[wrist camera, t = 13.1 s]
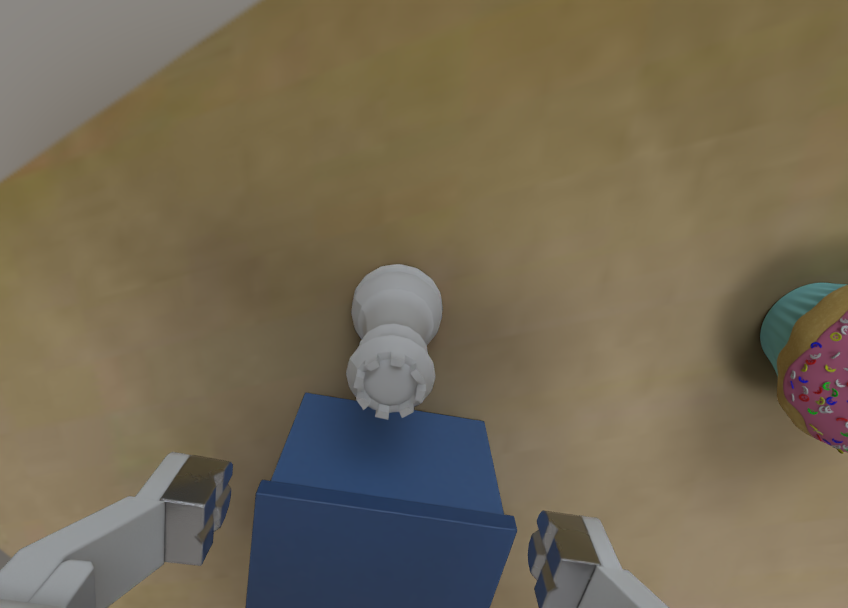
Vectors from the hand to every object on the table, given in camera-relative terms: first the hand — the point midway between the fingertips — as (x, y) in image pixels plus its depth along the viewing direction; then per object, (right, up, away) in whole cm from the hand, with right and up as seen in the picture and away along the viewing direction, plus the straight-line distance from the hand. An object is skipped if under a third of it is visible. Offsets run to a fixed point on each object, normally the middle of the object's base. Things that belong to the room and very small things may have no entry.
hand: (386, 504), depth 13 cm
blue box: (-2, -6, +16) cm, 17 cm away
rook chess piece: (0, +5, +12) cm, 13 cm away
